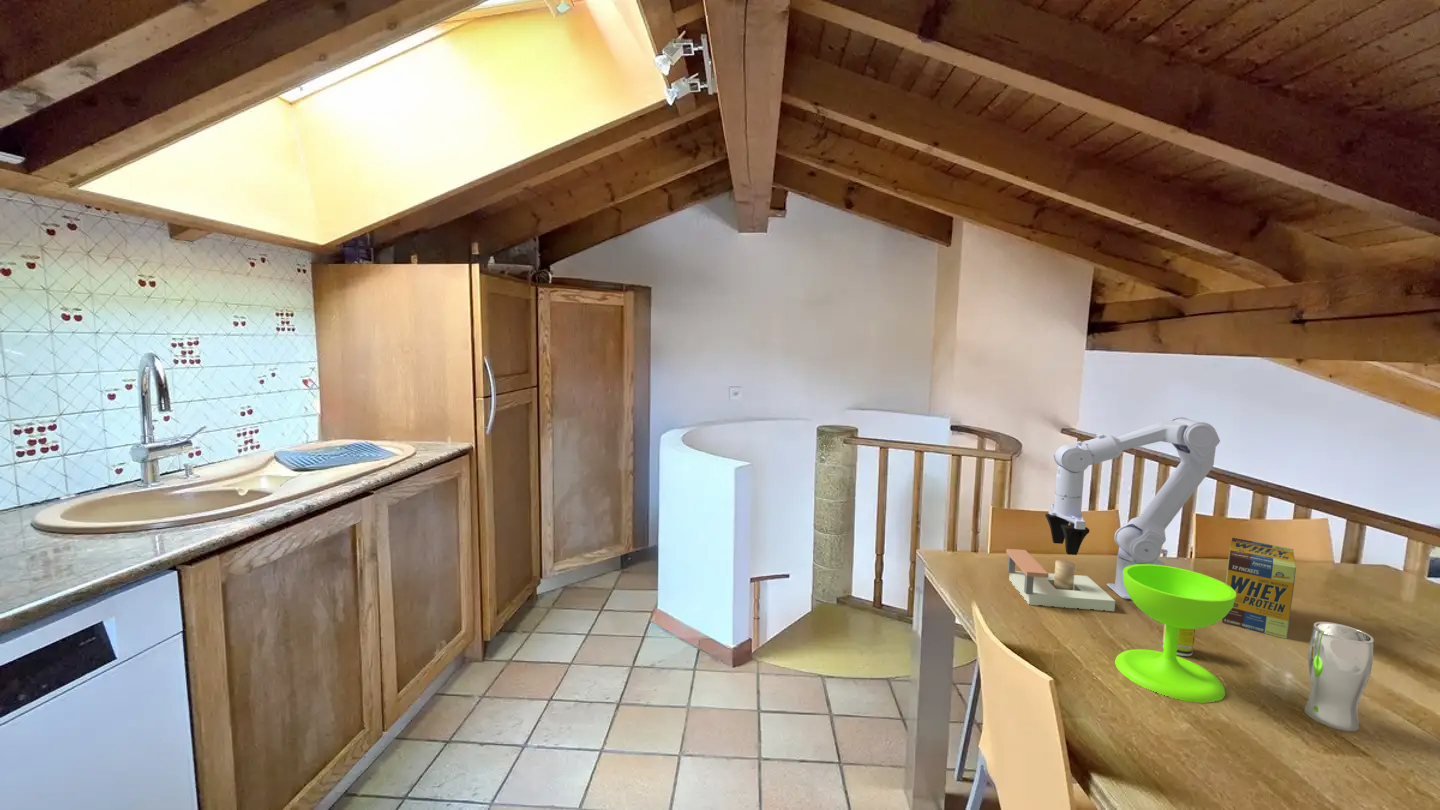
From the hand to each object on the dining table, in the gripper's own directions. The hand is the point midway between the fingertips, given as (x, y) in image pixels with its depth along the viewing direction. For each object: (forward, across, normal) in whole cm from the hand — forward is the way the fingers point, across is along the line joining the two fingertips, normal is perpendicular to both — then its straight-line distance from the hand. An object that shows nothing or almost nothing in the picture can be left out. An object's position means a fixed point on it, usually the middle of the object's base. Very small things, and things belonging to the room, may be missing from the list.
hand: (1064, 548), depth 142 cm
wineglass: (+10, +38, +2) cm, 39 cm away
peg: (+10, +5, -2) cm, 11 cm away
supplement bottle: (+10, +28, +10) cm, 31 cm away
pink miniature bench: (+7, +5, -10) cm, 14 cm away
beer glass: (+10, +48, +21) cm, 53 cm away
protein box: (+10, +11, +35) cm, 38 cm away
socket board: (+10, +5, -3) cm, 11 cm away
